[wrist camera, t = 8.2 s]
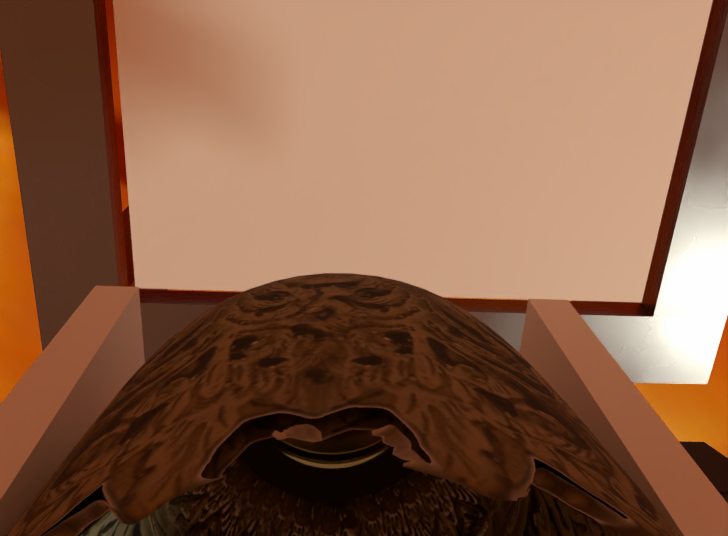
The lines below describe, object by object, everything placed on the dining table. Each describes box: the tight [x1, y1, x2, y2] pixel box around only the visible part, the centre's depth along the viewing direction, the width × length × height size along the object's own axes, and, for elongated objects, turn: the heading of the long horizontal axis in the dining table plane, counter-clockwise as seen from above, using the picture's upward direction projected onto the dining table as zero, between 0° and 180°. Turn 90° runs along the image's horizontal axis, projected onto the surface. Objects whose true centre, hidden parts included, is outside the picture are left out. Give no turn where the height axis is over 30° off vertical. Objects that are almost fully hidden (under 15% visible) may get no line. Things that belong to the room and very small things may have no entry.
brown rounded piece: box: [6, 273, 679, 536], centre depth 9 cm, size 8×7×8 cm
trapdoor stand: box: [0, 0, 728, 384], centre depth 26 cm, size 22×22×18 cm
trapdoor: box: [113, 0, 713, 302], centre depth 18 cm, size 17×16×1 cm
